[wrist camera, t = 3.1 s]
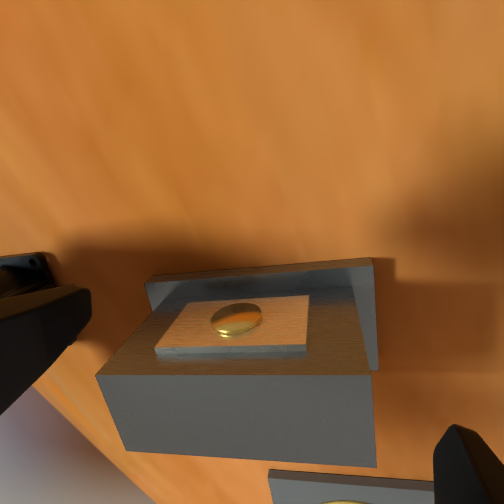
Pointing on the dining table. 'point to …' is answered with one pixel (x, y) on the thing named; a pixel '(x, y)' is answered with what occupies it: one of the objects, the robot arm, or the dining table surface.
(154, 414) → the lamp housing
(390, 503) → the parts mat
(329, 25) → the dining table surface
